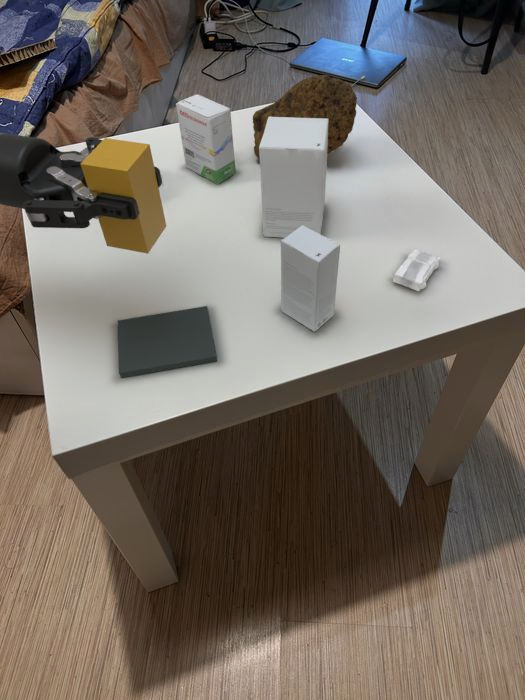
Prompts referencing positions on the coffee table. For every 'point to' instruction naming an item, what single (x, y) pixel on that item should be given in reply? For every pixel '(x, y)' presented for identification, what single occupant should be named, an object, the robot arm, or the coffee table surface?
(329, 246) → the cosmetic box
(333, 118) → the rock
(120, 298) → the coffee table surface
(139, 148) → the mustard block
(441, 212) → the coffee table surface
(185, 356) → the rubber mat
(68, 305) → the coffee table surface
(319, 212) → the rectangular carton
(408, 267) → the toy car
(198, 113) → the ink box
